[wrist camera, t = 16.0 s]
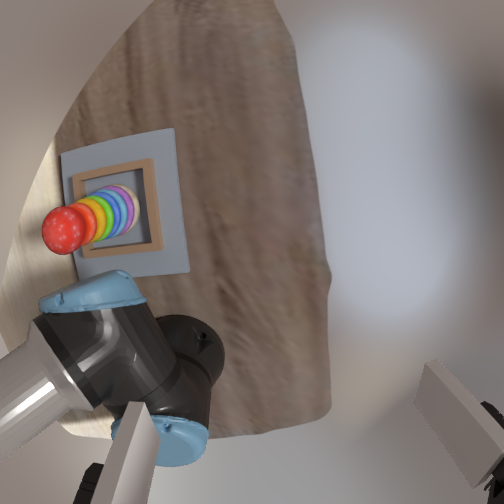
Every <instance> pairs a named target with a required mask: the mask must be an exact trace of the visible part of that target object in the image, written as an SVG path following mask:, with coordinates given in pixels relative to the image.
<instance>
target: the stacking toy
mask: <svg viewBox="0 0 504 504" xmlns="http://www.w3.org/2000/svg"><path fill="white" fill-rule="evenodd" d="M139 214H140V206H139V202H138V199H137V197H136V195H135V193H134V192H133V191H132V190H131V189H130V188H129V187H127V186H125V185H122V184H111V185H108V186H106V187H103V188H101V189H99V190H98V191H95V192H94V193H91V194H89V195H88V196H87V197H85V198H83V199H80V200H78V201H76V202H75V203H72V204H70V205H68V206H61V207H57V208H55V209H53V210H52V211H51V212H49V214H48V215H47V216H46V218H45V219H44V222H43V225H42V237H43V240H44V243H45V244H46V246H47V247H48V248H49V249H50V250H51V251H52V252H54V253H56V254H59V255H67V254H70V253H72V252H74V251H76V250H77V249H78V248H79V247H80V246H84V245H87V244H88V243H93V242H99V241H102V240H105V239H111V238H114V237H117V236H122V235H124V234H127V233H128V232H130V231H131V230H132V229H133V228H134V226H135V225H136V223H137V221H138V218H139Z"/></svg>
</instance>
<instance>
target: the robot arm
mask: <svg viewBox="0 0 504 504" xmlns="http://www.w3.org/2000/svg"><path fill="white" fill-rule="evenodd" d="M146 301H147V300H146V298H145V297H143V296H142V294H141V292H140V291H139V289H138V287H137V285H136V284H135V282H134V280H133V278H132V277H131V275H130V274H129V273H127V272H126V271H124V270H120V269H115V270H110V271H107V272H104V273H100V274H97V275H95V276H92V277H89V278H86V279H84V280H81V281H78V282H76V283H73V284H71V285H68V286H66V287H63V288H61V289H59V290H57V291H55V292H52V293H51V294H49V295H47V296H44V297H42V298H41V299H40V300H39V310H40V312H42V314H41V315H40V316H38V317H36V318H35V319H33V320H32V321H31V322H30V325H29V331H28V336H27V340H26V341H25V343H23V344H22V345H21V346H19V347H18V348H16V349H15V350H13V351H12V352H10V353H9V354H8V355H6V356H5V357H3V358H2V359H1V360H0V463H1V462H2V461H4V460H5V459H6V458H8V457H9V456H10V455H12V454H13V453H14V452H15V451H17V450H18V449H19V448H21V447H22V446H23V445H25V444H26V443H27V442H29V441H30V440H31V439H33V438H34V437H35V436H36V435H38V434H39V433H40V432H42V431H43V430H44V429H46V428H47V427H48V426H50V425H51V424H52V423H53V422H54V421H56V420H57V419H59V418H60V417H61V416H63V415H64V414H65V413H66V412H68V411H69V410H70V409H75V408H76V409H82V410H88V411H92V410H94V409H95V408H96V407H97V406H99V405H100V404H101V403H103V405H104V406H105V407H106V408H107V410H108V411H109V412H110V413H111V415H112V416H113V417H114V419H115V421H114V422H113V423H112V425H111V430H112V433H111V437H112V440H113V443H112V446H111V448H110V451H109V454H108V456H107V459H106V461H105V464H99V463H93V464H92V465H91V466H90V467H89V468H88V469H87V470H86V471H85V474H84V476H83V479H82V482H81V484H80V486H79V489H78V491H77V494H76V497H75V500H74V502H73V504H147V501H148V496H149V491H150V486H151V482H152V477H153V472H154V468H155V465H157V466H164V467H176V466H183V465H188V464H190V463H193V462H195V461H196V460H198V459H199V458H200V457H201V455H202V454H203V453H204V451H205V448H206V444H207V440H208V437H209V431H208V425H209V412H210V400H211V388H212V387H213V385H214V384H215V382H216V381H217V379H218V378H219V376H220V375H221V373H222V370H223V367H224V358H225V352H224V347H223V344H222V341H221V339H220V338H219V336H218V335H217V333H216V332H215V331H214V330H213V329H212V328H211V327H210V326H208V325H207V324H205V323H204V322H202V321H200V320H198V319H196V318H193V317H189V316H184V315H170V316H165V317H162V318H159V319H157V320H155V318H154V316H153V314H152V312H151V310H150V308H149V306H148V304H147V302H146ZM414 404H415V405H416V407H417V408H418V410H419V411H420V413H421V414H422V415H423V416H424V418H425V420H426V421H427V422H428V423H429V425H430V427H431V428H432V429H433V431H434V432H435V434H436V435H437V436H438V438H439V439H440V441H441V442H442V444H443V445H444V447H445V448H446V450H447V451H448V452H449V454H450V455H451V457H452V458H453V460H454V461H455V463H456V464H457V466H458V467H459V469H460V470H461V472H462V473H463V474H464V476H465V478H466V479H467V481H468V482H469V484H470V485H471V487H472V488H475V487H477V486H478V485H480V484H481V483H483V482H484V481H486V479H487V478H488V477H489V476H490V475H491V473H492V474H493V476H494V477H493V478H492V479H491V480H490V482H489V483H488V484H487V485H486V486H485V488H484V490H485V491H486V489H487V488H488V487H489V486H490V485H491V486H490V489H489V491H490V492H489V497H488V503H487V504H504V417H503V416H502V414H501V413H500V414H499V411H498V410H497V409H496V408H495V407H494V406H493V405H491V404H489V403H487V402H485V401H484V402H482V403H479V402H478V401H477V400H476V399H475V398H474V397H473V396H472V395H471V393H470V392H469V391H468V390H467V389H466V388H465V387H464V386H463V385H462V384H461V383H460V382H459V381H458V380H457V379H456V378H455V377H454V376H453V375H452V374H451V373H450V372H449V371H448V370H447V369H446V368H445V367H444V366H443V365H442V364H441V363H440V362H439V361H438V360H437V359H436V360H433V361H430V362H427V363H425V366H424V369H423V373H422V377H421V381H420V384H419V388H418V391H417V394H416V398H415V401H414Z"/></svg>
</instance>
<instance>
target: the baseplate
mask: <svg viewBox="0 0 504 504" xmlns="http://www.w3.org/2000/svg"><path fill="white" fill-rule="evenodd" d="M61 165H62V178H63V189H64V198H65V206H68V205H70V204H72V203H75V202H76V201H78V200H80V199H83V198H85V197H87V196H88V195H89V194H91V193H94V192H95V191H98V190H99V189H101V188H103V187H106V186H108V185H111V184H122V185H125V186H127V187H129V188H130V189H131V190H132V191H133V192H134V193H135V195H136V197H137V199H138V202H139V206H140V214H139V218H138V221H137V223H136V225H135V226H134V228H133V229H132V230H131V231H130V232H128V233H127V234H124V235H122V236H117V237H114V238H111V239H105V240H102V241H99V242H93V243H88V244H87V245H84V246H80V247H79V248H78V249H77V250H76V251H74V252H73V254H74V259H75V264H76V268H77V273H78V277H79V281H81V280H84V279H86V278H89V277H92V276H95V275H97V274H100V273H104V272H107V271H110V270H115V269H120V270H124V271H126V272H127V273H129V274H130V275H131V277H143V276H155V275H166V274H177V273H188V272H189V271H190V265H189V259H188V252H187V245H186V237H185V230H184V222H183V214H182V205H181V196H180V187H179V177H178V167H177V156H176V144H175V130H174V128H168V129H162V130H157V131H151V132H146V133H141V134H136V135H131V136H127V137H122V138H118V139H113V140H109V141H105V142H101V143H97V144H93V145H89V146H86V147H82V148H79V149H75V150H72V151H68V152H65V153H62V154H61Z"/></svg>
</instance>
